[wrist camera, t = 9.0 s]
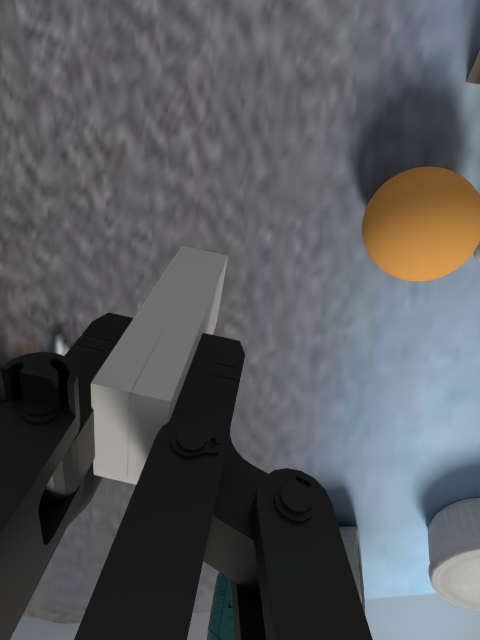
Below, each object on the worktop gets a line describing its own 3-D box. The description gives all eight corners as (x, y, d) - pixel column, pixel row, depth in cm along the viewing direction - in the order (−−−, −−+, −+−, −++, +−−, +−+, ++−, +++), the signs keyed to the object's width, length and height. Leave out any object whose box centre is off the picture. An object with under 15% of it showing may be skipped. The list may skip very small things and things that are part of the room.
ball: (474, 293, 23) (395, 247, 27) (532, 188, 20) (433, 153, 24) (404, 310, 20) (327, 255, 24) (459, 190, 17) (359, 150, 21)
